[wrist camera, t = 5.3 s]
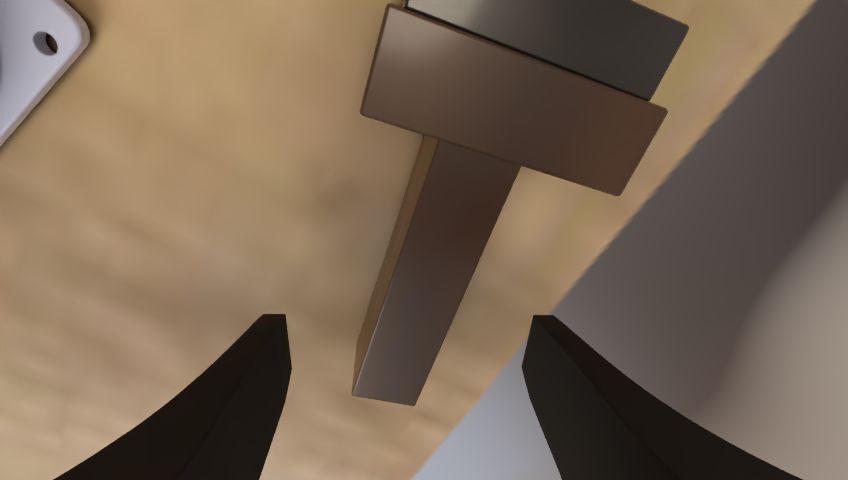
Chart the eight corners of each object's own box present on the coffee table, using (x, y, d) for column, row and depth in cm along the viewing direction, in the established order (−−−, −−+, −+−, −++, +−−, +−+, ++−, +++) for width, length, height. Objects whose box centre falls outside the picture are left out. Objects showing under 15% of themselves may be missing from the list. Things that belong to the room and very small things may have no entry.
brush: (307, 332, 15) (281, 424, 12) (404, -54, 10) (413, -104, 6) (456, 361, 16) (474, 453, 13) (612, 31, 11) (716, 31, 8)
